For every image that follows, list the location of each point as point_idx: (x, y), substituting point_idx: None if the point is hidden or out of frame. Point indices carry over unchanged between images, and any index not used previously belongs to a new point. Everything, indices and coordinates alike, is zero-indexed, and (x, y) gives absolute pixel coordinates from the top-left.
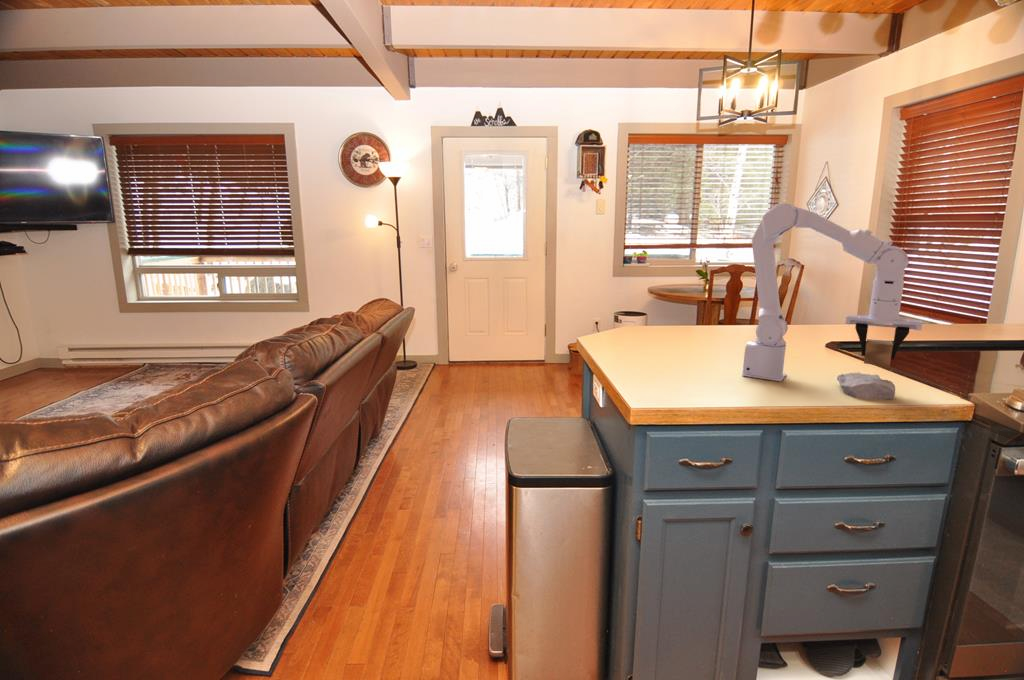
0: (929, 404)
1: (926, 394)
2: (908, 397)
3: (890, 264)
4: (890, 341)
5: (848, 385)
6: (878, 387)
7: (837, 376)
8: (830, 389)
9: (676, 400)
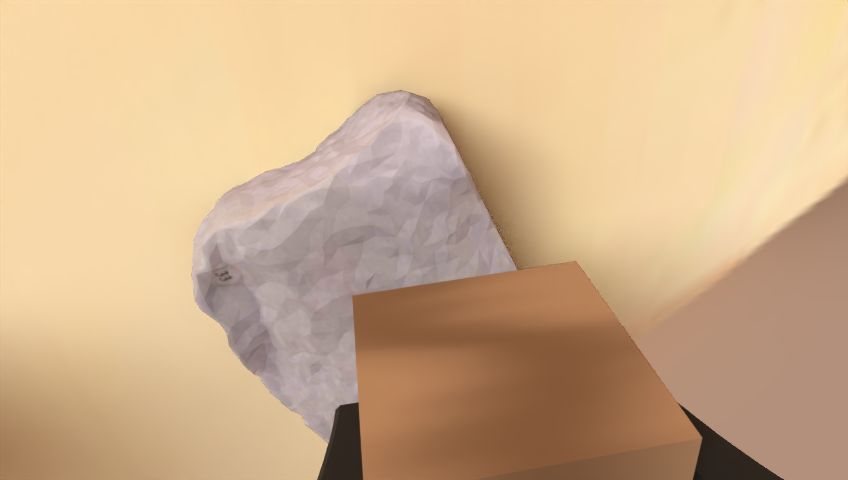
0: (696, 291)
1: (735, 83)
2: (617, 231)
3: None
4: (676, 452)
5: (320, 435)
6: None
7: (195, 299)
8: (214, 360)
9: None
